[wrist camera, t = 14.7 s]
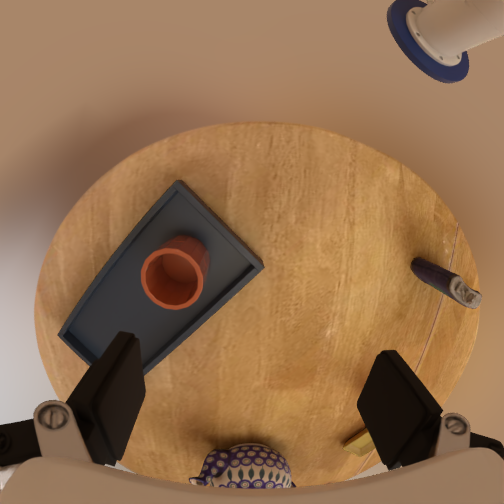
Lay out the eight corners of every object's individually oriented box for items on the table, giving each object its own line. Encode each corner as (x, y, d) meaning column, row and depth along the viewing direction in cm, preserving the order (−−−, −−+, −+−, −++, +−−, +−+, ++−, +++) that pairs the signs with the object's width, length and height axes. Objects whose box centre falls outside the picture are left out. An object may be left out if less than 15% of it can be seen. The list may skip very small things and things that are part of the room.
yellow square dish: (390, 429, 44) (393, 436, 42) (358, 451, 45) (360, 457, 43) (374, 418, 42) (377, 425, 40) (339, 441, 43) (341, 448, 41)
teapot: (316, 456, 44) (331, 510, 30) (265, 482, 46) (271, 532, 32) (224, 413, 39) (222, 486, 25) (174, 444, 41) (163, 505, 27)
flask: (449, 276, 35) (492, 301, 25) (440, 292, 36) (482, 320, 26) (415, 252, 34) (463, 276, 24) (406, 271, 35) (452, 299, 24)
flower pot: (160, 232, 31) (140, 245, 24) (212, 237, 32) (204, 251, 25) (159, 282, 33) (141, 305, 26) (208, 287, 33) (201, 312, 26)
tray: (181, 180, 30) (176, 179, 28) (262, 261, 33) (264, 267, 31) (65, 327, 34) (57, 335, 32) (128, 383, 37) (123, 393, 35)
